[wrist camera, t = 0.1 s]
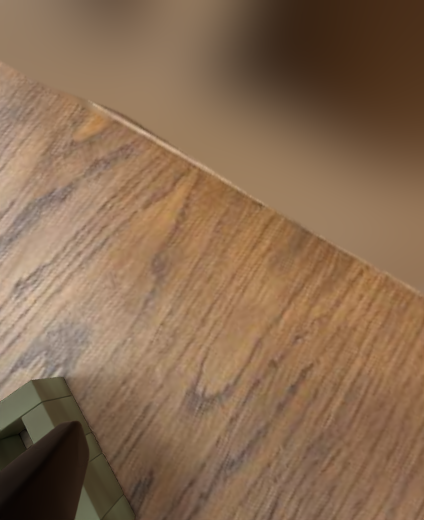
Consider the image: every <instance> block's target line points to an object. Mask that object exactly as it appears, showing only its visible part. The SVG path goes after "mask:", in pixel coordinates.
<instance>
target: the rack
mask: <svg viewBox="0 0 424 520" xmlns="http://www.w3.org/2000/svg"><path fill="white" fill-rule="evenodd" d="M71 395H72V394H71V392H70V390H69V388H68V386H67V384H66V382H65V380H64V379H63V377H55V378H46V379H36V380H30V381H29V382H28V383H26V384H25V385H23V386H22V387H20V388H19V389H18V390H16V391H15V392H13V393H12V394H10V395H9V396H8V397H6V398H5V399H3V400H2V401H0V471H1V470H2V469H3V468H5V467H6V466H7V465H8V464H10V463H11V462H12V461H13V460H15V459H16V458H17V457H18V456H20V455H21V454H22V453H23V452H25V451H26V449H25V447H24V445H23V442H22V440H21V438H20V436H19V434H18V433H20V432H21V431H22V430H24V429H25V428H26V429H27V431H28V433H29V436H30V438H31V440H32V442H33V444H35V443H36V442H37V441H38V440H40V439H41V438H42V437H43V436H45V435H46V434H47V433H48V432H50V431H51V430H52V429H53V428H55V427H56V426H57V425H58V424H60V423H62V422H66V421H75V420H77V421H79V422H80V423H81V424H82V427H83V430H84V433H85V436H86V439H87V442H88V446H89V451H90V456H89V462H88V466H87V471H86V475H85V479H84V483H83V487H82V492H81V496H80V500H79V504H78V509H77V513H76V517H75V520H134V519H135V514H134V512H133V511H132V509H131V507H130V505H129V503H128V501H127V499H126V497H125V495H123V494H124V493H123V491H122V489H121V487H120V485H119V483H118V482H117V480H116V478H115V476H114V474H113V472H112V470H111V468H110V466H109V464H108V462H107V461H106V459H105V457H104V455H103V454H102V451H101V449H100V447H99V445H98V443H97V441H96V440H95V438H94V436H93V434H92V433H91V430H90V428H89V427H88V425H87V423H86V421H85V419H84V417H83V415H82V413H81V411H80V409H79V407H78V405H77V404H76V402H75V400H74V398H73V396H71Z"/></svg>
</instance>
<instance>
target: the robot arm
mask: <svg viewBox="0 0 424 520" xmlns="http://www.w3.org/2000/svg"><path fill="white" fill-rule="evenodd" d="M89 456H90V451H89V446H88V442H87V439H86V436H85V433H84V430H83V427H82V424H81V423H80V422H79V421H77V420H75V421H66V422H62V423H60V424H58V425H57V426H56V427H55V428H53V429H52V430H51V431H50V432H48V433H47V434H46V435H45V436H43V437H42V438H41V439H40V440H38V441H37V442H36V443H35V444H33V445H32V446H31V447H30V448H28V449H27V450H26V451H25V452H23V453H22V454H21V455H20V456H18V457H17V458H16V459H15V460H13V461H12V462H11V463H10V464H8V465H7V466H6V467H5V468H3V469H2V470H1V471H0V520H75V517H76V513H77V509H78V504H79V500H80V496H81V492H82V487H83V483H84V479H85V475H86V471H87V466H88V462H89Z"/></svg>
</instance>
